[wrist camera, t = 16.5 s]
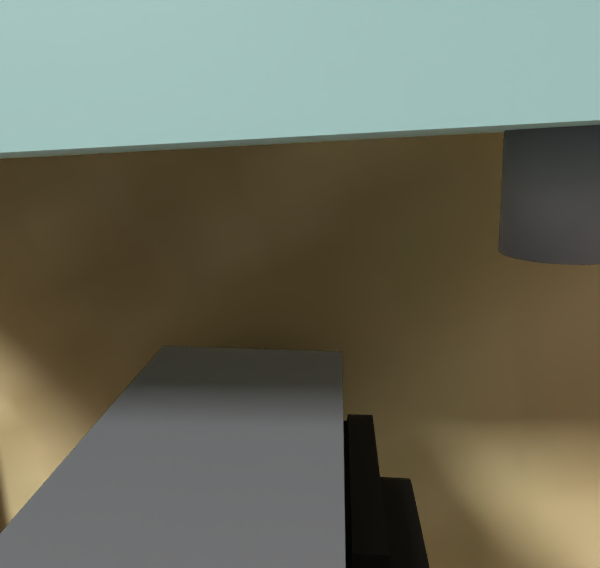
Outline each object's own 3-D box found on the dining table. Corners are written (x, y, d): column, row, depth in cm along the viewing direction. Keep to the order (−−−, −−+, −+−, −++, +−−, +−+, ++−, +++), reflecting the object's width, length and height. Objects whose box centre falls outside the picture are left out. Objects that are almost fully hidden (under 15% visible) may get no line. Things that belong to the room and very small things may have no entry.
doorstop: (337, 541, 12) (334, 1005, 6) (176, 531, 13) (-4, 964, 6) (342, 351, 11) (347, 666, 4) (162, 345, 11) (-88, 635, 5)
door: (-69, 108, 12) (-1042, 26, 3) (559, 67, 10) (1372, -218, 2) (-41, 229, 12) (-792, 398, 4) (549, 206, 11) (1123, 384, 3)
